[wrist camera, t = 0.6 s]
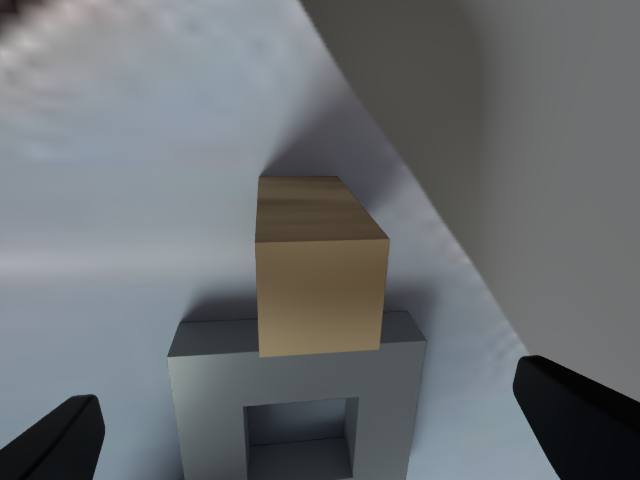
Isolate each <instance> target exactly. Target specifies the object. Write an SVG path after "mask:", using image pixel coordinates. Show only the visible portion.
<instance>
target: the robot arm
mask: <svg viewBox="0 0 640 480" xmlns="http://www.w3.org/2000/svg"><path fill="white" fill-rule="evenodd" d="M513 392H514V395H515V398H516V400H517V402H518V404H519V405H520V407H521V409H522V411H523V413H524V415H525V417H526V419H527V421H528V423H529V425H530V426H531V428H532V430H533V432H534V434H535V436H536V438H537V440H538V442H539V444H540V445H541V447H542V449H543V451H544V453H545V455H546V457H547V458H548V460H549V462H550V464H551V465H552V467H553V469H554V470H555V472H556V473H557V475H558V477H559V478H560V480H640V402H638V401H636V400H634V399H632V398H629V397H627V396H625V395H623V394H621V393H619V392H617V391H615V390H613V389H610V388H608V387H606V386H604V385H602V384H600V383H598V382H595V381H593V380H591V379H589V378H587V377H585V376H583V375H581V374H579V373H576V372H574V371H572V370H570V369H568V368H566V367H564V366H562V365H559V364H557V363H555V362H553V361H551V360H549V359H547V358H544V357H542V356H539V355H533V356H523V357H521V358H520V359H519V361H518V365H517V369H516V373H515V377H514V382H513ZM104 436H105V424H104V420H103V416H102V412H101V408H100V404H99V401H98V398H97V397H96V396H95V395H93V394H88V395H77V396H72V397H70V398H69V399H67V400H66V401H65V402H63V403H62V404H61V405H59V406H58V407H57V408H55V409H54V410H53V411H51V412H50V413H49V414H47V415H46V416H45V417H43V418H42V419H41V420H39V421H38V422H37V423H35V424H34V425H33V426H31V427H30V428H29V429H27V430H26V431H25V432H23V433H22V434H21V435H19V436H18V437H17V438H15V439H14V440H13V441H11V442H10V443H9V444H7V445H6V446H5V447H3V448H2V449H1V450H0V480H92V479H93V476H94V472H95V469H96V465H97V462H98V458H99V454H100V451H101V447H102V444H103V440H104Z"/></svg>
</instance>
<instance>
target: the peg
mask: <svg viewBox="0 0 640 480" xmlns="http://www.w3.org/2000/svg"><path fill="white" fill-rule="evenodd" d="M389 243H390V239H389V238H388V236H387V235H386V234H385V233H384V232H383V230H382V229H381V228H380V227H379V226H378V224H377V223H376V222H375V221H374V220H373V218H372V217H371V216H370V215H369V214H368V213H367V211H366V210H365V209H364V208H363V207H362V205H361V204H360V203H359V202H358V201H357V199H356V198H355V197H354V196H353V195H352V193H351V192H350V191H349V190H348V189H347V187H346V186H345V185H344V184H343V183H342V182H341V180H340V179H339V178H338V177H337V176H296V177H259V182H258V199H257V216H256V233H255V257H256V283H257V308H258V333H259V357H273V356H289V355H304V354H319V353H334V352H349V351H364V350H379V346H380V335H381V325H382V315H383V305H384V295H385V284H386V274H387V264H388V254H389Z"/></svg>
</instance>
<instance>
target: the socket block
mask: <svg viewBox="0 0 640 480" xmlns="http://www.w3.org/2000/svg"><path fill="white" fill-rule="evenodd" d="M426 342H427V340H426V339H425V337H424V336H423V334H422V333H421V331H420V330H419V328H418V327H417V325H416V323H415V322H414V320H413V319H412V317H411V316H410V314H409V313H408V311H398V312H383V315H382V325H381V335H380V346H379V350H364V351H349V352H334V353H319V354H304V355H289V356H273V357H259V333H258V319H247V320H229V321H210V322H191V323H179V325H178V328H177V331H176V333H175V336H174V339H173V342H172V344H171V347H170V350H169V353H168V356H167V362H168V369H169V376H170V383H171V390H172V396H173V403H174V410H175V417H176V424H177V431H178V438H179V444H180V451H181V458H182V465H183V472H184V479H185V480H406V475H407V468H408V462H409V455H410V448H411V442H412V435H413V428H414V422H415V415H416V408H417V402H418V395H419V389H420V382H421V375H422V369H423V362H424V355H425V349H426ZM340 398H346V406H345V422H344V437H342V438H331V439H321V440H311V441H300V442H290V443H280V444H269V445H259V446H250V445H249V427H248V409H247V406H256V405H268V404H280V403H292V402H304V401H316V400H328V399H340Z"/></svg>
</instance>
